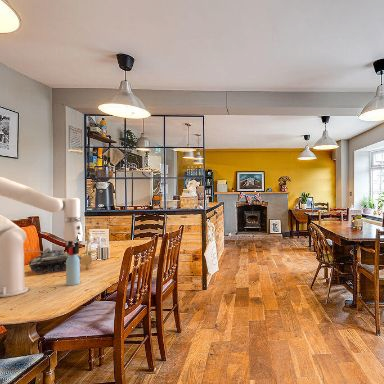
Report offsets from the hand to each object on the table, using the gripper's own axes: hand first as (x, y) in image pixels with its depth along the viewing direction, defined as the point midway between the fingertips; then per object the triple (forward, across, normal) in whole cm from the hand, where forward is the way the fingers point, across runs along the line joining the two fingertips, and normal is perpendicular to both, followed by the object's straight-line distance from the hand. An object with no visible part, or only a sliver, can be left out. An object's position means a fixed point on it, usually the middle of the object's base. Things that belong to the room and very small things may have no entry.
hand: (72, 253), depth 157 cm
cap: (+1, 0, 0) cm, 1 cm away
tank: (+17, +38, -13) cm, 44 cm away
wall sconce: (+17, +20, -24) cm, 36 cm away
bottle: (+17, 0, 0) cm, 17 cm away
